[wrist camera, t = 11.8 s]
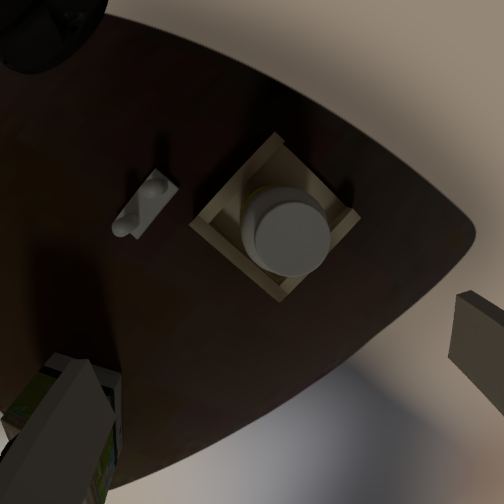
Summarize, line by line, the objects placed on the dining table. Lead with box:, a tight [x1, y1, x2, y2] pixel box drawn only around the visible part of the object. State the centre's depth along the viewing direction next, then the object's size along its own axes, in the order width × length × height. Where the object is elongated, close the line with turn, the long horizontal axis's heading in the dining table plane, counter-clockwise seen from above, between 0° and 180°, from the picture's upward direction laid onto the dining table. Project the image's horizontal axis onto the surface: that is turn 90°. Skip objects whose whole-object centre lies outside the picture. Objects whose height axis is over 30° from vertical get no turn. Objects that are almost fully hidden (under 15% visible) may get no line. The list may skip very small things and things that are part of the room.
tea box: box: [1, 352, 122, 504], centre depth 28 cm, size 15×10×15 cm, turn 167°
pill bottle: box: [239, 184, 331, 277], centre depth 24 cm, size 6×6×11 cm
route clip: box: [112, 169, 179, 239], centre depth 27 cm, size 3×6×4 cm, turn 137°
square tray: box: [190, 132, 361, 303], centre depth 29 cm, size 11×11×3 cm
